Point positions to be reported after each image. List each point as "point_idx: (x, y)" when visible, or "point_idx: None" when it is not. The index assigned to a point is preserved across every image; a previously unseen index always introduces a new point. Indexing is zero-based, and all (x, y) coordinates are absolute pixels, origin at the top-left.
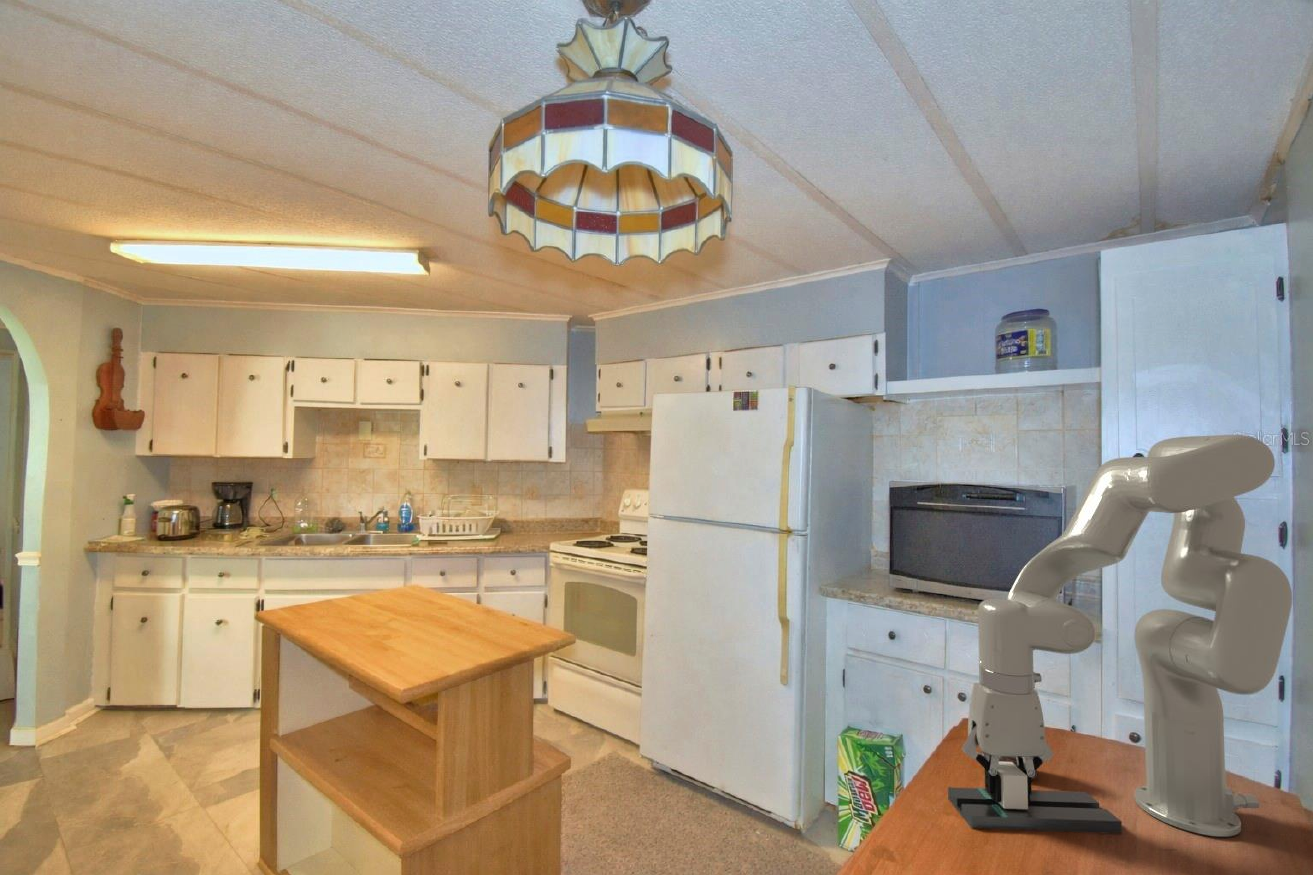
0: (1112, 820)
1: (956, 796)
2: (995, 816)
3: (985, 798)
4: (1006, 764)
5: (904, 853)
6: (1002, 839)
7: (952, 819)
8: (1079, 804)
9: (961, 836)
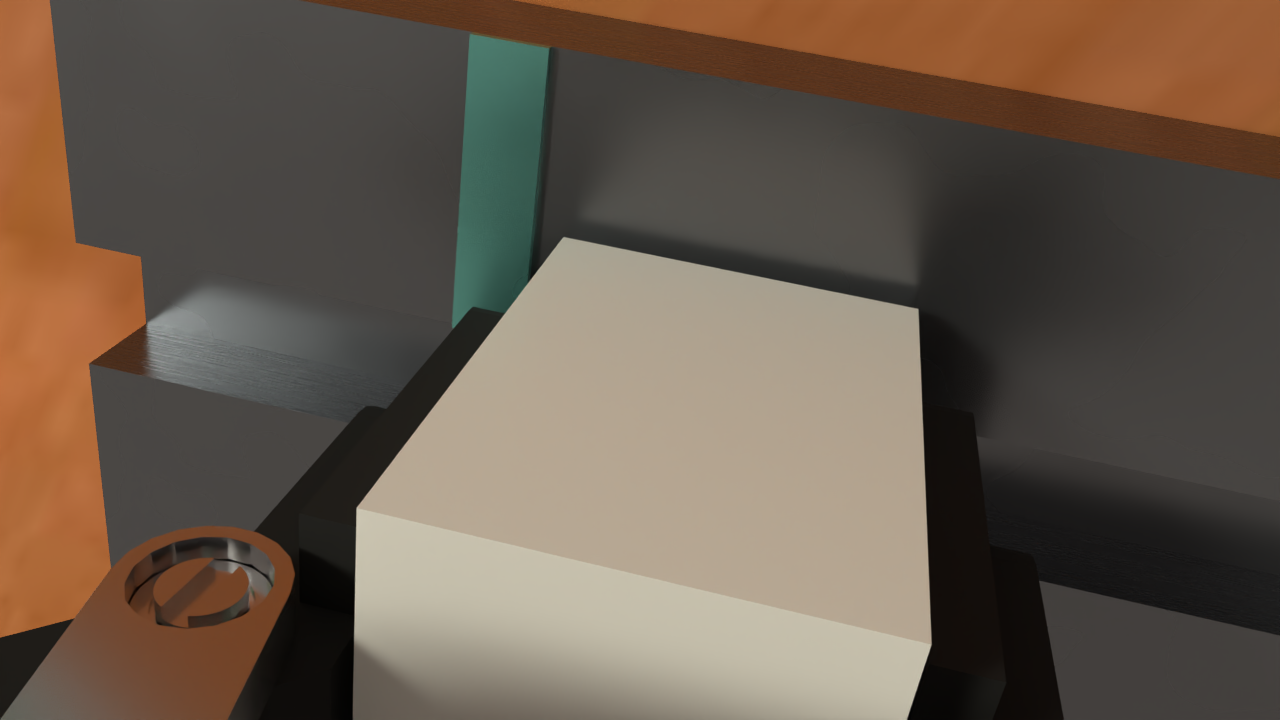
0: None
1: (84, 207)
2: None
3: (452, 308)
4: (686, 710)
5: None
6: None
7: (57, 345)
8: None
9: (54, 572)
